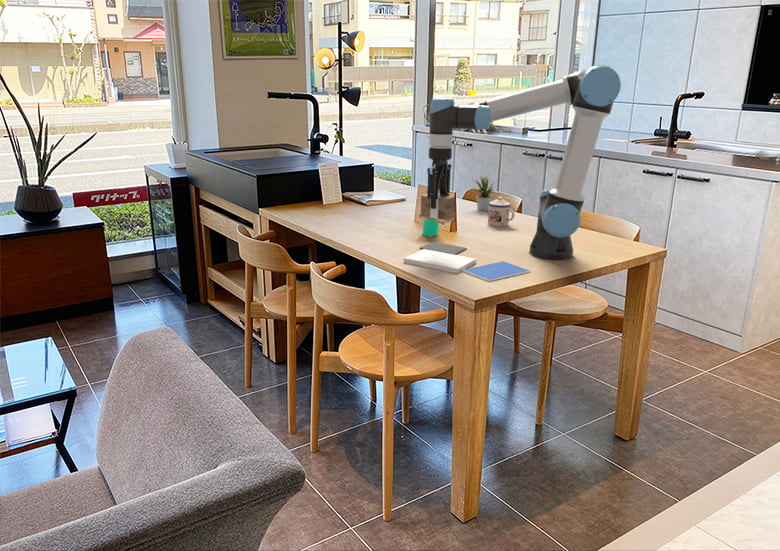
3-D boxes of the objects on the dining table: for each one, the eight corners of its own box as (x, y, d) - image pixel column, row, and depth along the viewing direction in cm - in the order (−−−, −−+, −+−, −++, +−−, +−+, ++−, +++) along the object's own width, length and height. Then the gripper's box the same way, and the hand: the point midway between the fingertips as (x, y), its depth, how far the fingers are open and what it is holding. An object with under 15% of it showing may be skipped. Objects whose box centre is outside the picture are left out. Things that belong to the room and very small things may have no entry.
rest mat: (466, 249, 230) (466, 247, 229) (454, 255, 221) (454, 254, 221) (432, 242, 237) (432, 241, 236) (419, 248, 228) (419, 247, 228)
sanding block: (453, 220, 215) (454, 196, 213) (447, 222, 211) (448, 199, 208) (427, 216, 220) (428, 193, 217) (420, 218, 216) (421, 195, 213)
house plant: (461, 206, 302) (463, 172, 296) (487, 205, 306) (490, 171, 301) (473, 212, 289) (476, 177, 284) (501, 211, 293) (504, 176, 288)
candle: (420, 232, 251) (421, 203, 247) (434, 232, 253) (435, 202, 249) (426, 236, 245) (427, 206, 241) (440, 235, 247) (442, 205, 244)
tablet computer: (503, 264, 215) (503, 260, 215) (531, 273, 206) (531, 270, 205) (461, 273, 204) (461, 269, 204) (488, 284, 195) (489, 280, 194)
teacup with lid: (482, 223, 268) (485, 196, 265) (495, 220, 275) (497, 194, 271) (506, 229, 261) (509, 201, 257) (518, 225, 267) (521, 198, 263)
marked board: (475, 263, 213) (476, 258, 213) (457, 273, 202) (457, 268, 201) (423, 253, 223) (424, 248, 223) (403, 262, 212) (403, 257, 211)
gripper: (442, 143, 217) (439, 210, 224) (417, 148, 202) (415, 219, 209) (462, 145, 213) (458, 212, 221) (438, 150, 199) (435, 222, 206)
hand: (437, 216), depth 215 cm, fingers closed on sanding block, 5 cm apart
